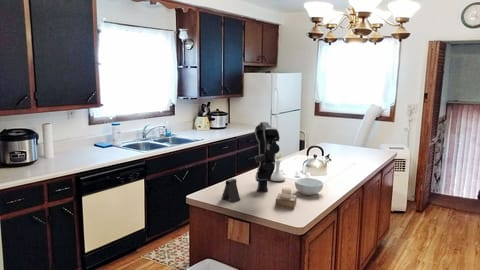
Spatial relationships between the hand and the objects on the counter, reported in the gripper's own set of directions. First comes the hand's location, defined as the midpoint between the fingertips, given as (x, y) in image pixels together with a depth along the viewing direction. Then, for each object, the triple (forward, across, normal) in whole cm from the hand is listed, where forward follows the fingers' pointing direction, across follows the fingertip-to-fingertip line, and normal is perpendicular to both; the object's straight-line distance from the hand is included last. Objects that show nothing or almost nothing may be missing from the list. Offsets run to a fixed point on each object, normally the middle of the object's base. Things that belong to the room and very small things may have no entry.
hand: (269, 177), depth 212 cm
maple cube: (+8, +8, +10) cm, 15 cm away
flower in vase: (+13, -40, +4) cm, 42 cm away
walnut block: (+13, +8, +10) cm, 19 cm away
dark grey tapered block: (+13, +5, -21) cm, 25 cm away
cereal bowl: (+13, -16, +24) cm, 32 cm away
